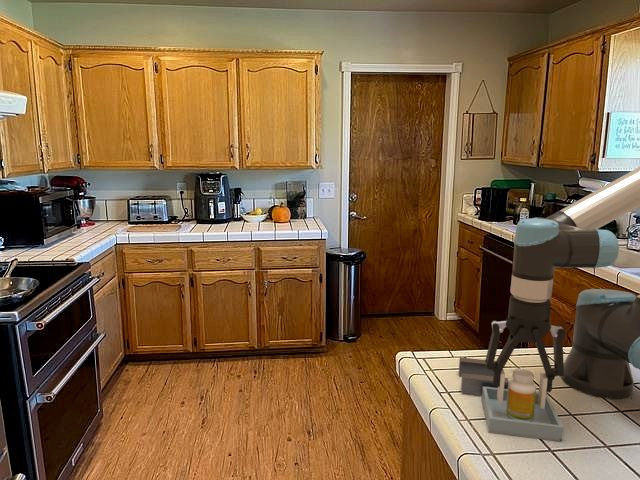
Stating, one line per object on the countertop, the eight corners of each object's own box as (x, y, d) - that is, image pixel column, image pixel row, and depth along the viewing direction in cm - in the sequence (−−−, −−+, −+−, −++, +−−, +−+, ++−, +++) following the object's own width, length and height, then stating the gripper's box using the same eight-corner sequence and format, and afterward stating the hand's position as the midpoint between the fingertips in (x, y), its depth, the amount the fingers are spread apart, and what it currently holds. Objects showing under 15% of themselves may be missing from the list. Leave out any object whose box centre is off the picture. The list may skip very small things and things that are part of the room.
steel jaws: (500, 376, 119) (501, 361, 118) (507, 399, 108) (509, 382, 107) (458, 372, 121) (459, 357, 120) (461, 394, 110) (462, 377, 109)
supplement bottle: (536, 424, 97) (540, 379, 95) (508, 421, 98) (511, 377, 96) (530, 410, 102) (534, 368, 100) (503, 407, 103) (507, 365, 102)
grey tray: (545, 406, 105) (547, 393, 105) (561, 441, 92) (563, 427, 92) (481, 398, 108) (482, 386, 108) (488, 432, 95) (489, 418, 95)
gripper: (580, 295, 97) (568, 399, 101) (475, 288, 101) (467, 388, 105) (592, 306, 90) (578, 418, 94) (478, 298, 94) (470, 406, 98)
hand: (520, 402), depth 100 cm, fingers open, 7 cm apart
